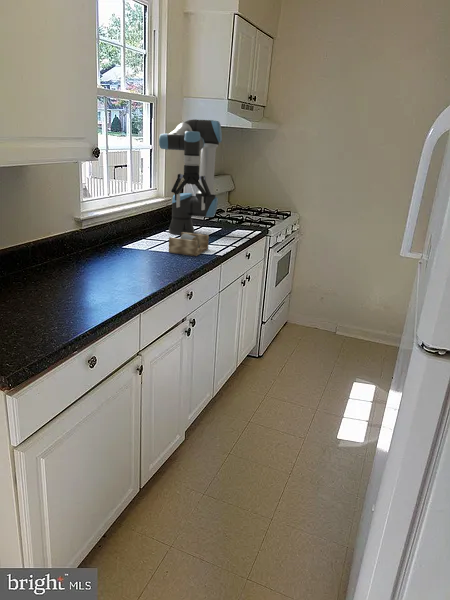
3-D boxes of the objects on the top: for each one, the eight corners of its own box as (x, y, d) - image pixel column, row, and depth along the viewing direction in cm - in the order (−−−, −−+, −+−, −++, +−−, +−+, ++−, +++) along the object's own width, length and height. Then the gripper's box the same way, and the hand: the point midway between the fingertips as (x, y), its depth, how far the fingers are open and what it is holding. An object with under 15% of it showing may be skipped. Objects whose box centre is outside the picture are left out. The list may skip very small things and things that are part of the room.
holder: (168, 252, 245) (168, 237, 242) (182, 245, 260) (182, 232, 257) (196, 256, 241) (196, 241, 238) (208, 249, 255) (208, 235, 253)
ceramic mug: (191, 251, 245) (192, 236, 243) (178, 249, 249) (179, 234, 246) (203, 248, 254) (204, 234, 251) (190, 246, 258) (191, 231, 255)
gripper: (165, 163, 237) (164, 206, 244) (212, 167, 229) (211, 212, 236) (171, 162, 243) (171, 205, 251) (218, 166, 236) (216, 209, 243)
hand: (190, 208), depth 243 cm, fingers open, 13 cm apart
